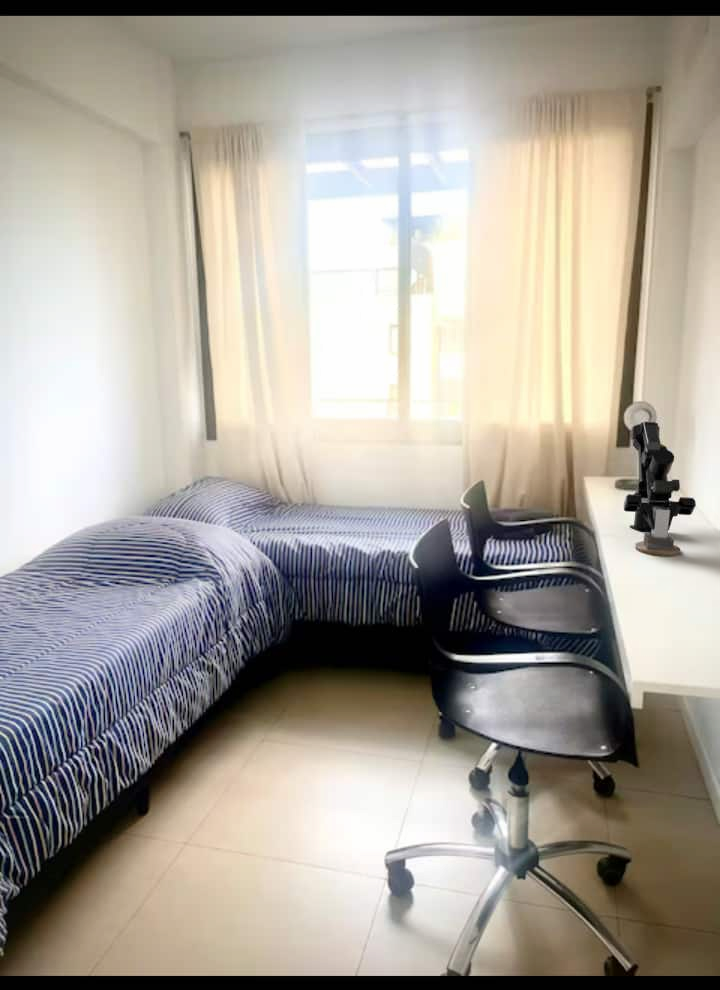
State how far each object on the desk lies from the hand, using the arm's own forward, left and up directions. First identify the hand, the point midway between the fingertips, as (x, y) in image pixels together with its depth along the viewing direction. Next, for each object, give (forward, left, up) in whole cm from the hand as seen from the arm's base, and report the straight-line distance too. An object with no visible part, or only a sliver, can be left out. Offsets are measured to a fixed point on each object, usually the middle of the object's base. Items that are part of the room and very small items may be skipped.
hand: (660, 529), depth 197 cm
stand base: (-1, +1, -7) cm, 7 cm away
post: (-1, +1, -5) cm, 6 cm away
